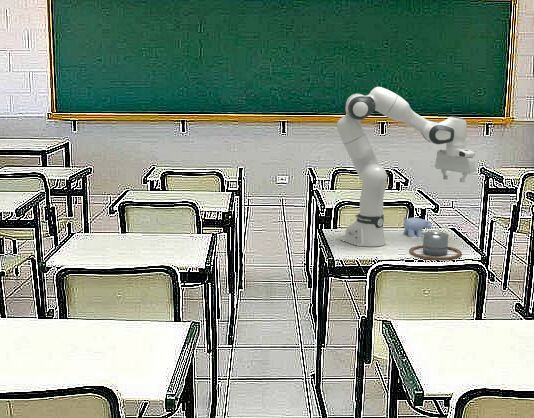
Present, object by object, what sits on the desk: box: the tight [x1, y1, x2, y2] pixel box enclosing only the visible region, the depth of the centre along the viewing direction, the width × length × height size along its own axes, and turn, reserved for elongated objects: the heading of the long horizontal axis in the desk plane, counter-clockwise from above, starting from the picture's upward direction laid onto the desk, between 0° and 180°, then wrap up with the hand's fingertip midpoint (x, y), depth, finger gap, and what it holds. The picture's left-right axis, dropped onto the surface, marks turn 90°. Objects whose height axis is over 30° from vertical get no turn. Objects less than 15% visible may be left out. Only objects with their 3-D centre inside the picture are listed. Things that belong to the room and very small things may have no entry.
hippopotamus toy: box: [403, 216, 433, 238], centre depth 379 cm, size 11×15×10 cm
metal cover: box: [422, 230, 449, 257], centre depth 344 cm, size 11×11×10 cm
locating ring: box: [408, 244, 463, 261], centre depth 345 cm, size 23×23×1 cm
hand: (453, 180), depth 356 cm, fingers open, 8 cm apart
